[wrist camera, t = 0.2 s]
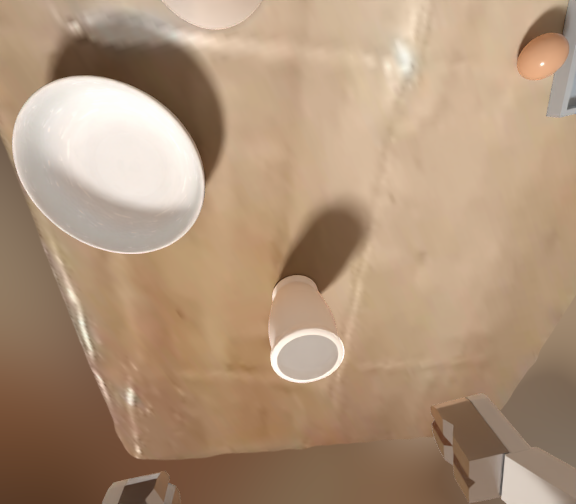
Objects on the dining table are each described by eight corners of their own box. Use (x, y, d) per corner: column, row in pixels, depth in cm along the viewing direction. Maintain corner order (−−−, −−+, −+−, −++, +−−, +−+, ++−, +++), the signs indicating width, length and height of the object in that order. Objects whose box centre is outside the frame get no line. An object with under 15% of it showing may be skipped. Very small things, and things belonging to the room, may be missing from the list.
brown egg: (510, 41, 38) (543, 34, 34) (548, 31, 38) (586, 24, 34) (505, 84, 41) (535, 83, 37) (541, 75, 41) (575, 74, 36)
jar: (280, 261, 51) (288, 321, 38) (333, 278, 54) (358, 339, 40) (258, 308, 55) (259, 376, 42) (308, 321, 58) (323, 389, 45)
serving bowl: (77, 234, 45) (50, 257, 39) (23, 74, 35) (-25, 71, 29) (217, 232, 47) (211, 253, 41) (203, 80, 37) (193, 78, 31)
